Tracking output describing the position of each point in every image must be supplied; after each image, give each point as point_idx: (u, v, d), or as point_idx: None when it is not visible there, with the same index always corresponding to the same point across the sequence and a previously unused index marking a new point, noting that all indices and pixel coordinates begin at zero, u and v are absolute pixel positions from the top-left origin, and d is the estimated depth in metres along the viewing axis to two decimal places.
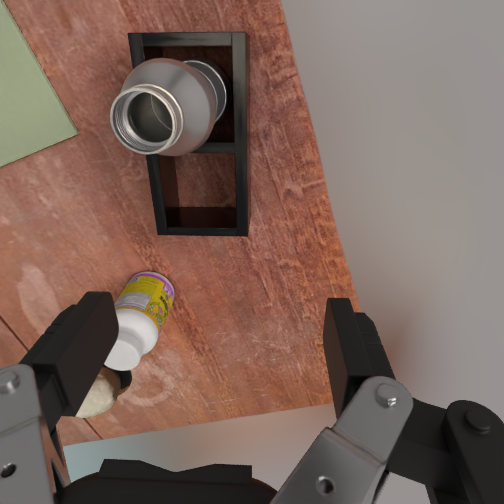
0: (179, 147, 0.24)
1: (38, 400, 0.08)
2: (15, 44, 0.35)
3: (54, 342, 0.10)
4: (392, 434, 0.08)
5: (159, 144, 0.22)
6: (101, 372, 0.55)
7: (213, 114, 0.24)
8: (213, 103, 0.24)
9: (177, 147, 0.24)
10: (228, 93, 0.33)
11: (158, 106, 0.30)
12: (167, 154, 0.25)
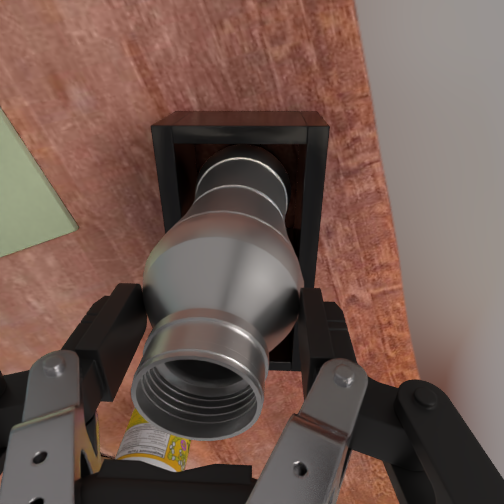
0: None
1: (78, 388, 0.09)
2: None
3: (93, 330, 0.11)
4: (344, 409, 0.08)
5: (218, 391, 0.12)
6: None
7: None
8: (303, 286, 0.14)
9: None
10: (288, 197, 0.24)
11: None
12: None
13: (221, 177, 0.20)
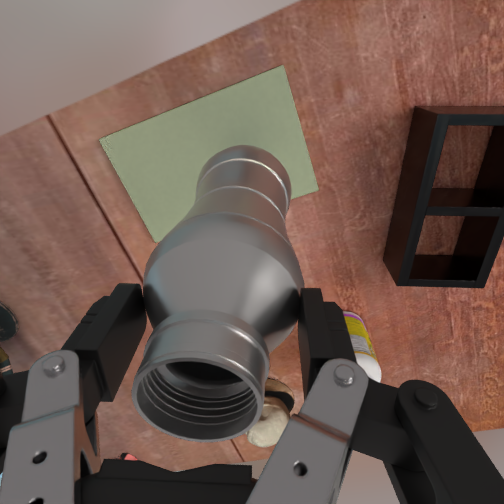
0: None
1: (78, 388, 0.09)
2: (287, 112, 0.38)
3: (93, 330, 0.11)
4: (345, 409, 0.08)
5: (218, 392, 0.12)
6: (275, 402, 0.57)
7: None
8: (303, 287, 0.14)
9: None
10: (289, 198, 0.24)
11: None
12: None
13: (222, 178, 0.20)
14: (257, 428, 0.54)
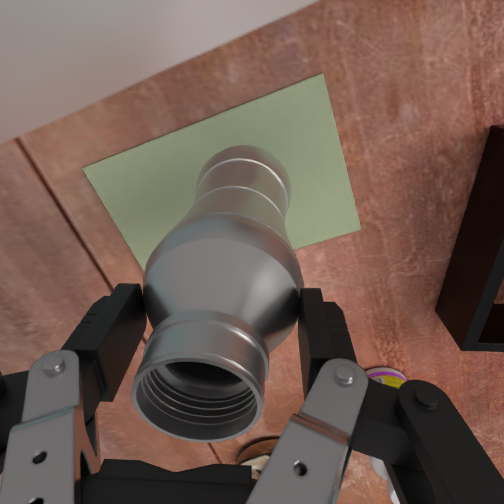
0: None
1: (78, 388, 0.09)
2: (325, 134, 0.29)
3: (93, 330, 0.11)
4: (345, 410, 0.08)
5: (218, 392, 0.12)
6: None
7: None
8: (303, 287, 0.14)
9: None
10: (289, 198, 0.24)
11: None
12: None
13: (221, 178, 0.20)
14: None
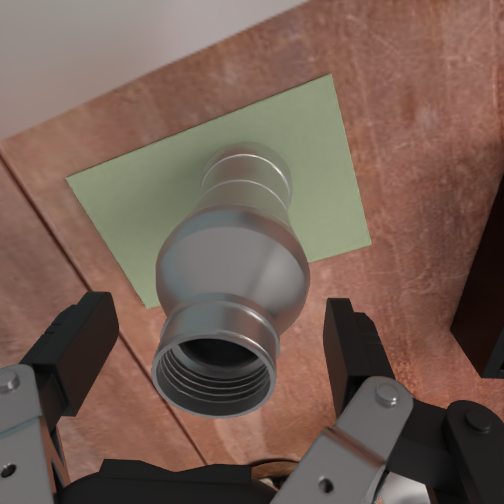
0: None
1: (38, 400, 0.08)
2: (333, 141, 0.26)
3: (54, 342, 0.10)
4: (392, 434, 0.08)
5: (230, 373, 0.13)
6: None
7: None
8: (309, 274, 0.15)
9: None
10: (291, 193, 0.24)
11: None
12: None
13: (227, 173, 0.20)
14: None
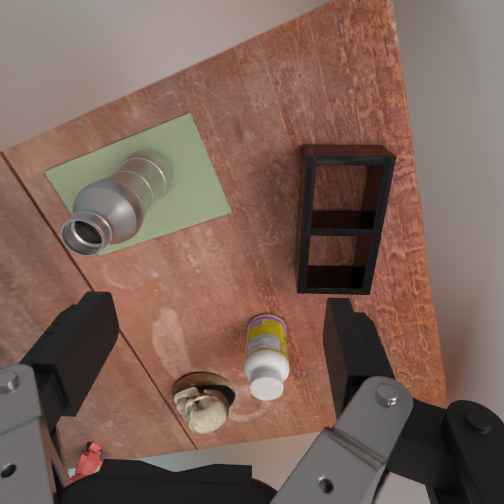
0: (115, 242, 0.34)
1: (38, 400, 0.08)
2: (197, 150, 0.46)
3: (54, 342, 0.10)
4: (392, 434, 0.08)
5: (97, 245, 0.32)
6: (215, 394, 0.65)
7: (140, 217, 0.34)
8: (139, 210, 0.34)
9: (113, 242, 0.34)
10: (167, 179, 0.43)
11: None
12: (108, 244, 0.35)
13: (122, 167, 0.40)
14: (196, 417, 0.62)
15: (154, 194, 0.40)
